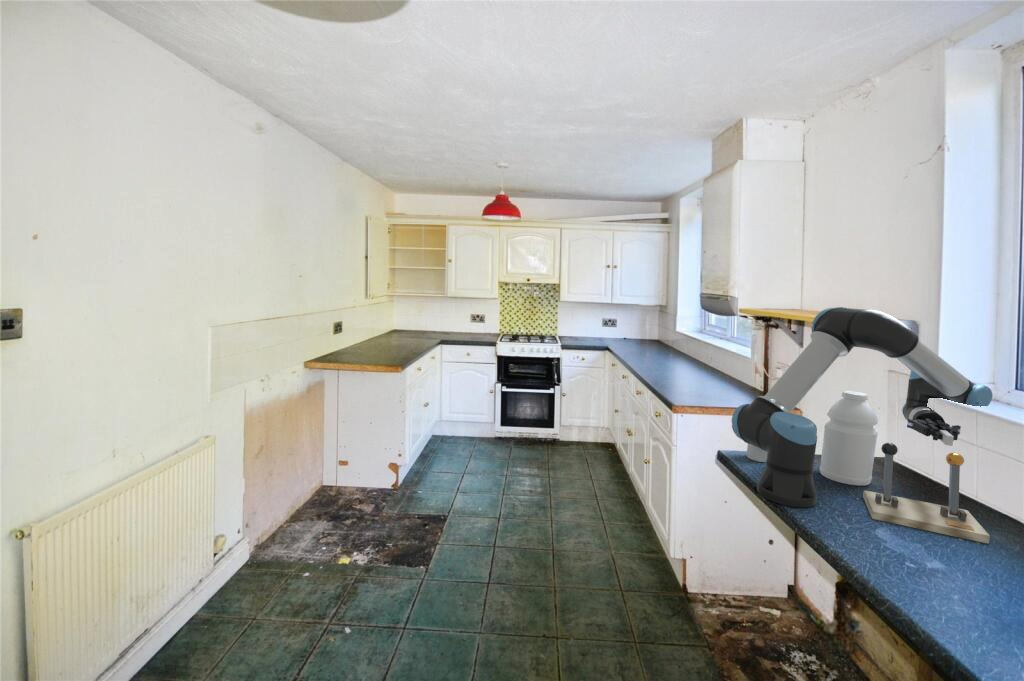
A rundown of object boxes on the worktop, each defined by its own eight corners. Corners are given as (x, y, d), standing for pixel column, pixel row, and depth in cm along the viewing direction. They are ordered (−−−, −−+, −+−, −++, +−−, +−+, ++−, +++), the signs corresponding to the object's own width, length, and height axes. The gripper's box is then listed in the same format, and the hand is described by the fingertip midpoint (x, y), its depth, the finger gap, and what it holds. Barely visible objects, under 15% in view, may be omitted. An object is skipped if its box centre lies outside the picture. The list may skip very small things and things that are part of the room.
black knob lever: (879, 500, 132) (883, 441, 136) (877, 500, 136) (880, 442, 139) (896, 503, 131) (899, 443, 134) (893, 503, 134) (896, 444, 137)
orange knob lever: (946, 513, 126) (948, 451, 129) (942, 513, 129) (944, 451, 132) (964, 517, 124) (966, 453, 127) (959, 516, 127) (961, 454, 130)
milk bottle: (773, 464, 167) (780, 407, 165) (749, 461, 169) (755, 405, 166) (766, 456, 175) (772, 401, 172) (743, 454, 176) (749, 400, 174)
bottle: (833, 467, 167) (843, 386, 163) (879, 481, 155) (891, 395, 151) (810, 473, 160) (820, 389, 156) (857, 489, 148) (868, 399, 144)
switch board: (872, 518, 129) (874, 504, 128) (862, 496, 143) (864, 483, 142) (988, 543, 118) (991, 528, 117) (966, 517, 132) (968, 503, 131)
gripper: (951, 435, 154) (978, 458, 133) (899, 428, 160) (918, 449, 139) (954, 412, 153) (982, 431, 132) (902, 406, 159) (921, 423, 138)
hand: (949, 440), depth 136 cm, fingers closed
